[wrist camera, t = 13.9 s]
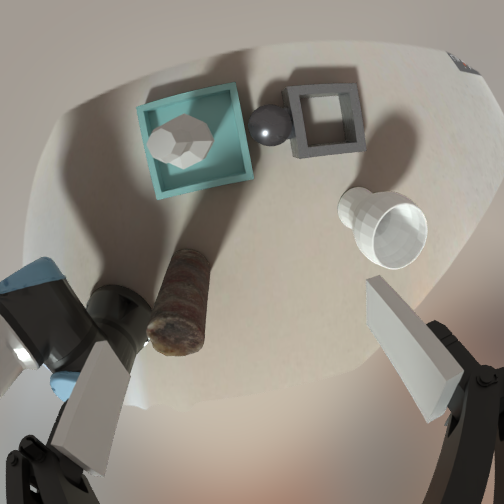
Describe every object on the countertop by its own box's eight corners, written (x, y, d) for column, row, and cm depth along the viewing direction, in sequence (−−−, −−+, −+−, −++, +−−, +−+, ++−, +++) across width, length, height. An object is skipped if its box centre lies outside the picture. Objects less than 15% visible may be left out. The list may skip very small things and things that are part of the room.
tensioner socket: (253, 163, 43) (256, 166, 38) (240, 97, 38) (241, 91, 33) (354, 149, 43) (369, 151, 38) (345, 87, 38) (358, 82, 33)
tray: (162, 195, 44) (157, 200, 40) (143, 109, 38) (136, 107, 34) (252, 175, 44) (254, 178, 40) (235, 86, 38) (235, 81, 34)
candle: (213, 249, 48) (204, 320, 30) (211, 286, 51) (203, 365, 33) (170, 245, 47) (137, 312, 29) (170, 282, 50) (144, 358, 32)
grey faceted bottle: (224, 140, 40) (218, 142, 20) (195, 168, 41) (161, 199, 21) (196, 112, 38) (162, 88, 18) (167, 141, 39) (109, 147, 19)
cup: (331, 177, 45) (372, 197, 31) (384, 180, 45) (435, 199, 31) (328, 237, 49) (362, 276, 35) (379, 235, 49) (423, 270, 36)
